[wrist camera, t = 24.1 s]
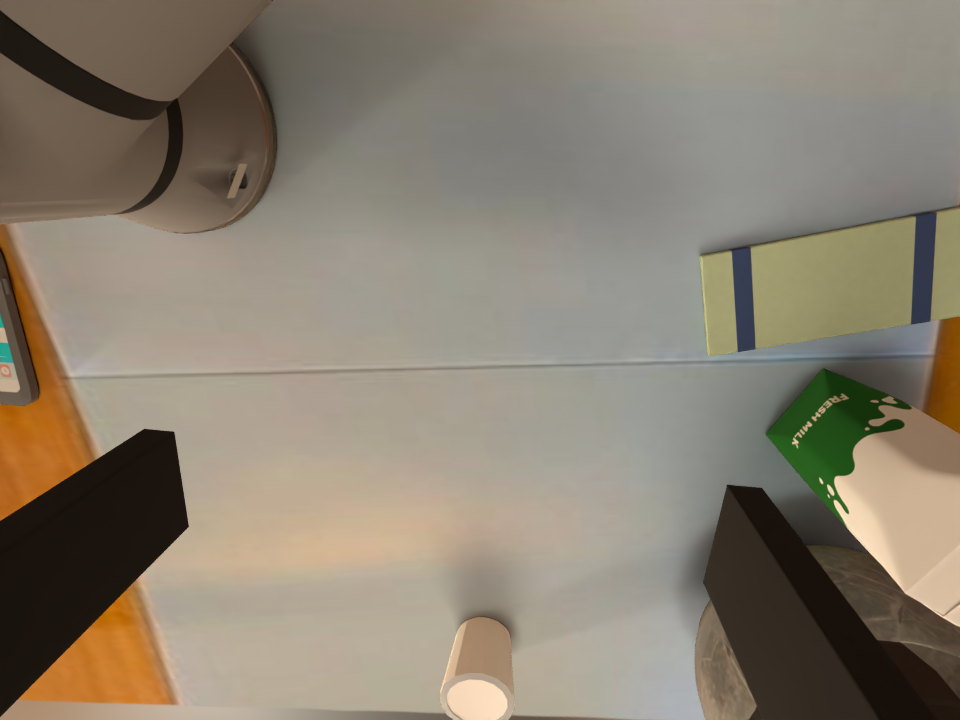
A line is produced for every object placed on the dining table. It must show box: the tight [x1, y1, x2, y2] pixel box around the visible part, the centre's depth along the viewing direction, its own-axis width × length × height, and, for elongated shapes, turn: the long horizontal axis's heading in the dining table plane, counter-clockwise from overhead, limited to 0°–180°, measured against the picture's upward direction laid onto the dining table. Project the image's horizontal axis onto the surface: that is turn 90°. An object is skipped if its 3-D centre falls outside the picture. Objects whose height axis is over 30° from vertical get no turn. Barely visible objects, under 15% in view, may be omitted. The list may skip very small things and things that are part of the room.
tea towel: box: [700, 207, 960, 356], centre depth 39 cm, size 8×18×1 cm, turn 102°
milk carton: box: [766, 368, 960, 627], centre depth 33 cm, size 9×9×20 cm
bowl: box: [695, 545, 960, 720], centre depth 41 cm, size 20×20×15 cm
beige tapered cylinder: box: [440, 617, 515, 720], centre depth 50 cm, size 7×7×7 cm
